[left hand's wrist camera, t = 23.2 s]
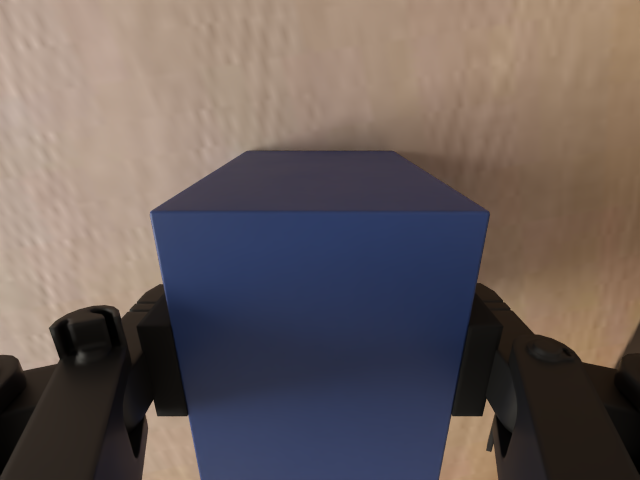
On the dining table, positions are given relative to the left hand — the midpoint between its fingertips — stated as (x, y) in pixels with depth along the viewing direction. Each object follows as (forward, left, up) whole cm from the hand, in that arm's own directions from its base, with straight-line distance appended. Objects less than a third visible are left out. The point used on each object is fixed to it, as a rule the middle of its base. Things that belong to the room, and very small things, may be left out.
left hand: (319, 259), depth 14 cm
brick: (0, 0, -3) cm, 3 cm away
